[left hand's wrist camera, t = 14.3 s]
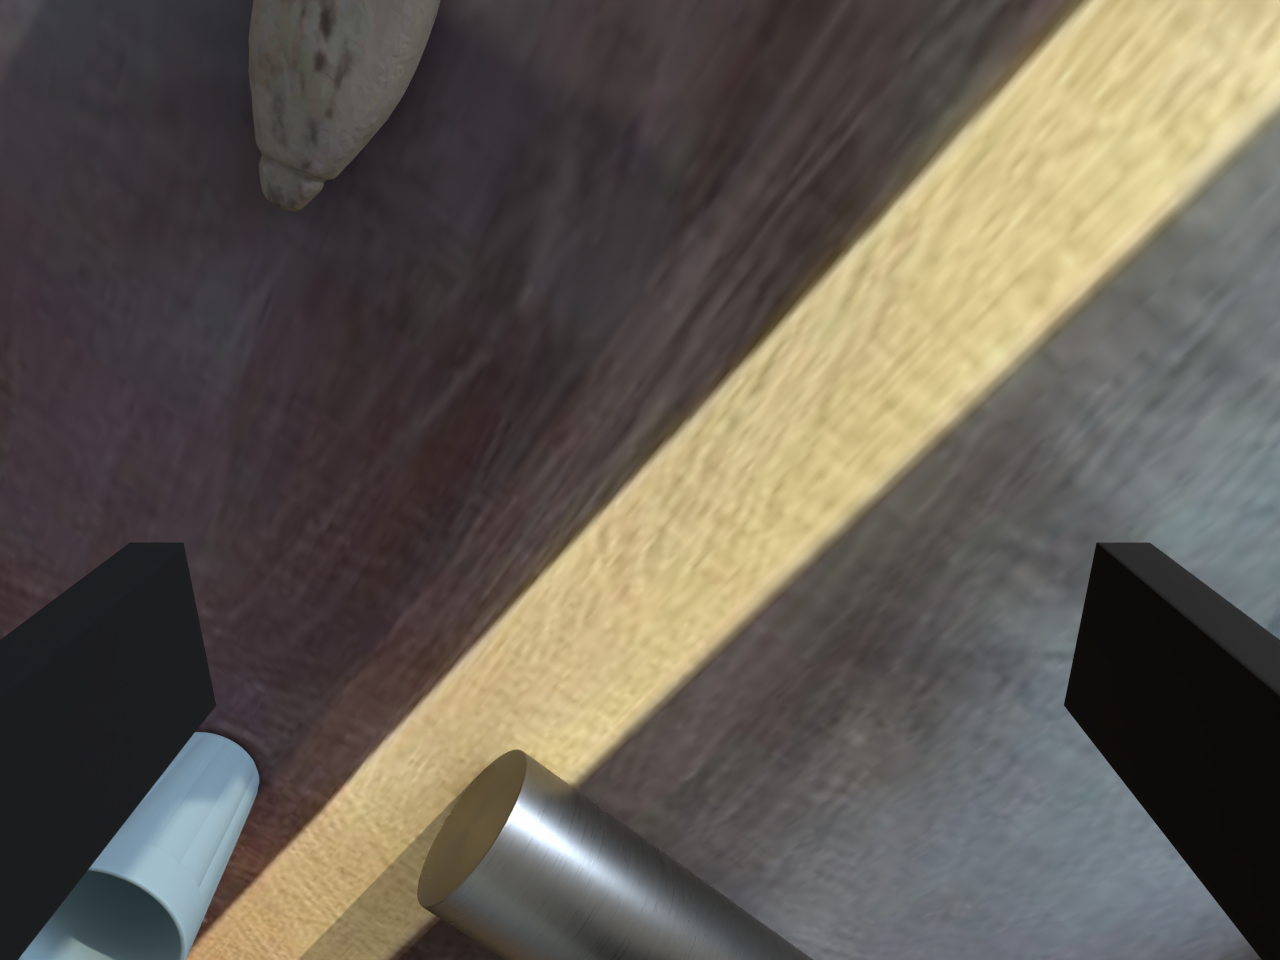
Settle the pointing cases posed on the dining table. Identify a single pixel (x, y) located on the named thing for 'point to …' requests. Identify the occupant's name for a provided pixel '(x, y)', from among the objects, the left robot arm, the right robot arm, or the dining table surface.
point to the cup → (158, 863)
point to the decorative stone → (327, 84)
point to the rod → (574, 880)
